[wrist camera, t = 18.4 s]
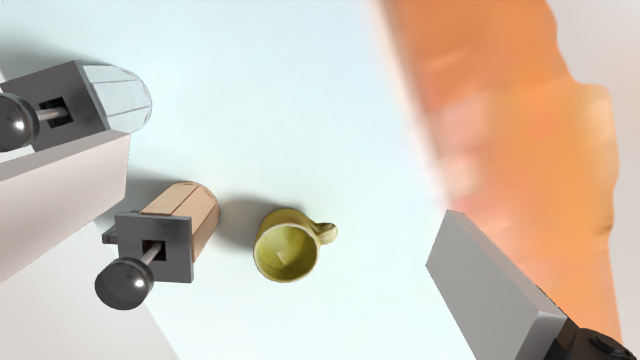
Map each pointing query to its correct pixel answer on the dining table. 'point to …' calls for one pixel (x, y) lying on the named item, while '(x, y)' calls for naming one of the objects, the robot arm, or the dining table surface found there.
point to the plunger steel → (22, 121)
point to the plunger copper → (127, 280)
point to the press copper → (168, 230)
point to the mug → (290, 245)
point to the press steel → (83, 101)
